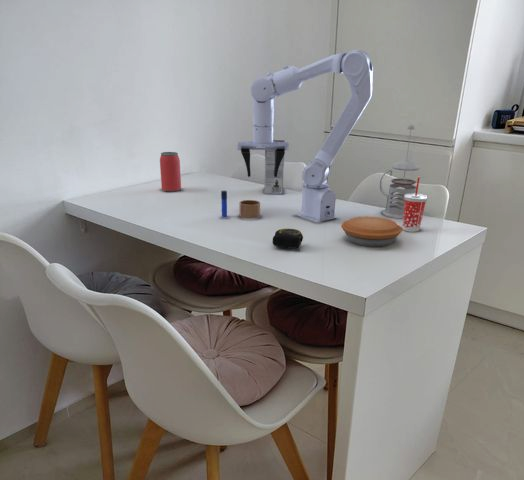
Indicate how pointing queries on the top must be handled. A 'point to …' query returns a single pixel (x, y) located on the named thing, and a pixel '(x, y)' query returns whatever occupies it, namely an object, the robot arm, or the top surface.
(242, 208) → the brown wooden bowl
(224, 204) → the marker
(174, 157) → the beer can
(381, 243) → the pie
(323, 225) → the top surface
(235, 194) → the top surface
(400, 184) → the french press
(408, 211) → the beverage cup
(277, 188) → the coffee box
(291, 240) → the tape measure
